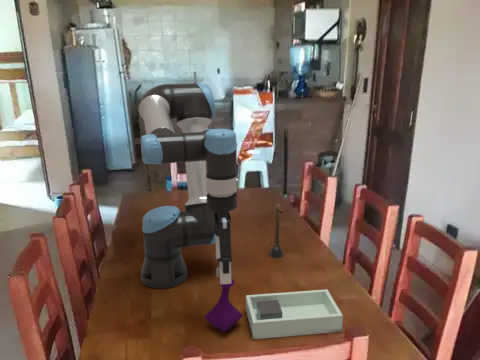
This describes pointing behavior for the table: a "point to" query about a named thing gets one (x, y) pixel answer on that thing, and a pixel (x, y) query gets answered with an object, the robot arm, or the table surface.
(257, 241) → the table surface
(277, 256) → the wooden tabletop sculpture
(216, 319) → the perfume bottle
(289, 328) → the tray
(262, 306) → the block
